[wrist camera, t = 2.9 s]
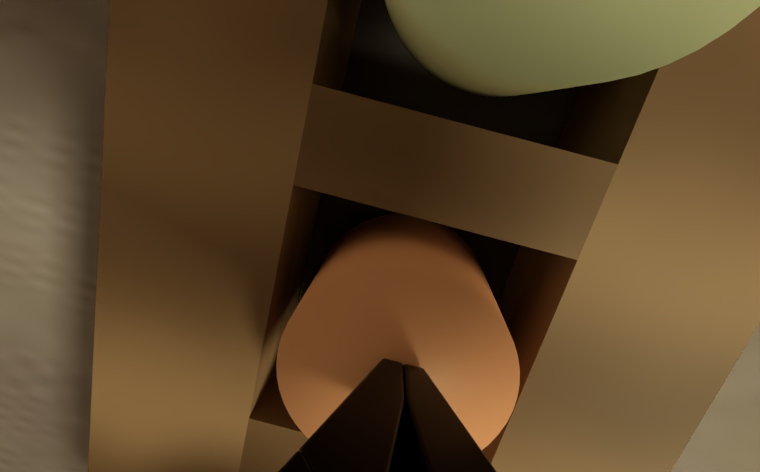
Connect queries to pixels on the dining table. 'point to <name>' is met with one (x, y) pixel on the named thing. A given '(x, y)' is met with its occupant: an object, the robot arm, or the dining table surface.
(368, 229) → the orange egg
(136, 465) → the wooden compartment tray
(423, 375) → the robot arm
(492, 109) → the dining table surface
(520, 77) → the button sage
